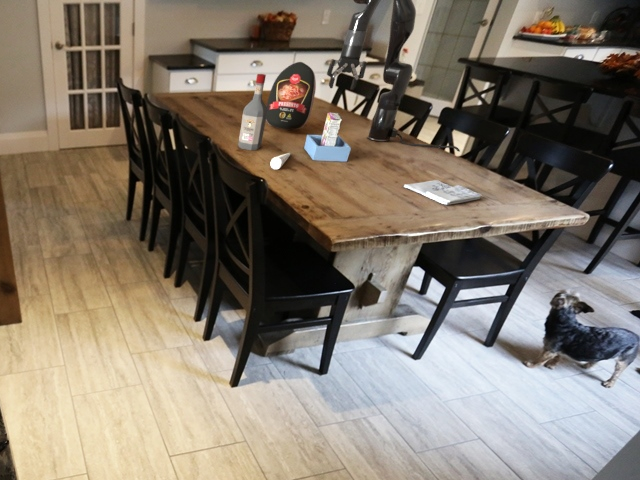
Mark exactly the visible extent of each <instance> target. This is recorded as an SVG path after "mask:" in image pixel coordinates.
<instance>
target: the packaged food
mask: <svg viewBox="0 0 640 480" xmlns="http://www.w3.org/2000/svg"><path fill="white" fill-rule="evenodd" d="M316 89H317V81H316V75H315V72H314V70H313V69H312V68H311V67H310V66H309V65H308V64H306V63H305V62H303V61H297V62H294V63H291V64H289V65H288V66H287V67H285V68H284V69H283V70H282V71H281V72H280V73H279V74H278V76H276V78H275V79H274V82H273V83H272V86H271V89H270V92H269V94H268V99H267V102H266V107H267V116H266V121H265V122H266V123H267V124H268V125H269V126H270V127H274V128H277V129H281V130H285V131H290V130H300V129H302V128H304V127H305V126H306V125H307V123H308V121H309V120H310V116H311V113H312V111H313V106H314V102H315V96H316Z"/></svg>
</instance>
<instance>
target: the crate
mask: <svg viewBox="0 0 640 480" xmlns="http://www.w3.org/2000/svg"><path fill="white" fill-rule="evenodd" d="M322 135H323V134H306V138H305V142H304V148H303V149H304V150H305V151H306V154H308V156H309V157H310V158H311V159H312V161H321V162H343V163H344V162H348V159H349V155H350V153H351V149H352V147H351V146H350V145H349V144H348V143H347V142H346V141H345V140H344V139H343V138H342V136H340V135H338V137H337V141H336V144H335V146H320V143H321V139H322Z"/></svg>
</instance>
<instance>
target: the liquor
mask: <svg viewBox="0 0 640 480" xmlns="http://www.w3.org/2000/svg"><path fill="white" fill-rule="evenodd" d="M266 76H267V74H265V73H257V75H256V80H255V87H254V94H253V96H252V99H251V100H250V101H249V103H247V104H246V105H245V106H244V108H243V111H242V118H241V125H240V129H239V130H240V131H239V137H238V142H237V143H238V144H237V145H238V148H240V149H241V150H246V151H257V150H259V149H260V148H261V147H262V143H263V137H264V132H265V126H266V122H267V121H266V116H267V104H266V103H265V102H264V100H263V93H264V92H263V91H264V85H265V82H266Z"/></svg>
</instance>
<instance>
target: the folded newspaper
mask: <svg viewBox="0 0 640 480" xmlns="http://www.w3.org/2000/svg"><path fill="white" fill-rule="evenodd" d="M403 188H405V189H408V190H410V191H412V192H415V193H417V194H420V195H422V196H424V197H426V198H428V199H430V200H432V201H435V202H437V203H439V204H442V205H445V206H449V205H455V204H461V203H467V202H471V201H475V200H481V197H484V196H483V194H481V193H479V192H476V191H474V190H471V189H469V188H467V187H465V186H462V185H460V184H457V185H454V186H452V185H450V184H448V183H445V182H442V181H440V180H439V179H434V180H427V181H421V182H416V183H415V182H413V183H404V184H403Z"/></svg>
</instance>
